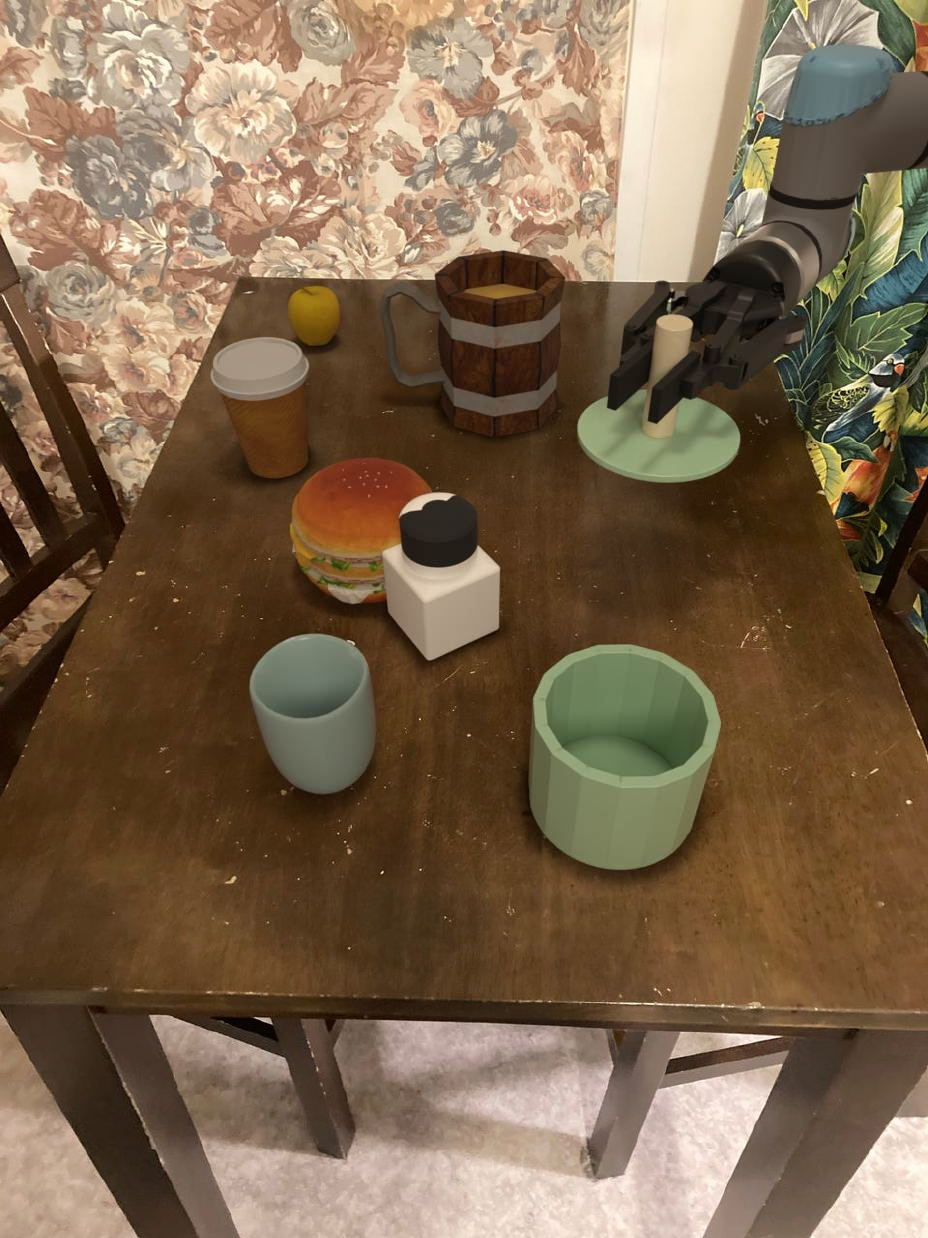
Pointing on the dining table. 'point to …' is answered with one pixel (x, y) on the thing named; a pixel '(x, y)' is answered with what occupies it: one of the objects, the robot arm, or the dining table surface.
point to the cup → (315, 711)
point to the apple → (314, 314)
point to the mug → (490, 340)
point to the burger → (352, 525)
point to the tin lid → (660, 424)
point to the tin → (620, 754)
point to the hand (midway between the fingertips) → (633, 399)
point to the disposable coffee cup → (266, 402)
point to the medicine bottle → (441, 576)
